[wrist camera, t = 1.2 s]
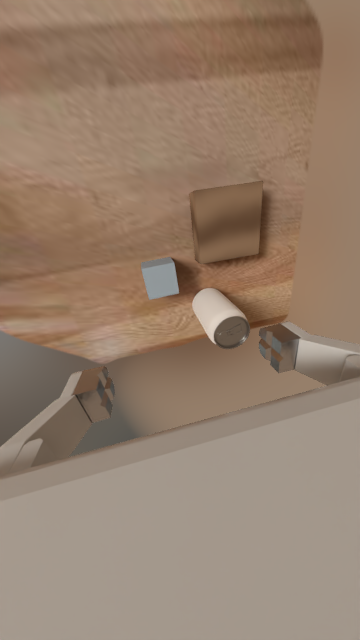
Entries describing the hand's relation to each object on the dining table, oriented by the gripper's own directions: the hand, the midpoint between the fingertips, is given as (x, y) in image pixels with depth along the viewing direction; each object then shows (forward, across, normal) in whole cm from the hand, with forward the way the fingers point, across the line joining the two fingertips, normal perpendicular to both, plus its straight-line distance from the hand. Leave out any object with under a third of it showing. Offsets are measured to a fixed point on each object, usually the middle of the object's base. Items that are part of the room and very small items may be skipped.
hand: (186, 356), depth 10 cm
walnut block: (+26, -12, -5) cm, 30 cm away
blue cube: (+26, 0, +1) cm, 27 cm away
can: (+27, -8, +9) cm, 30 cm away
